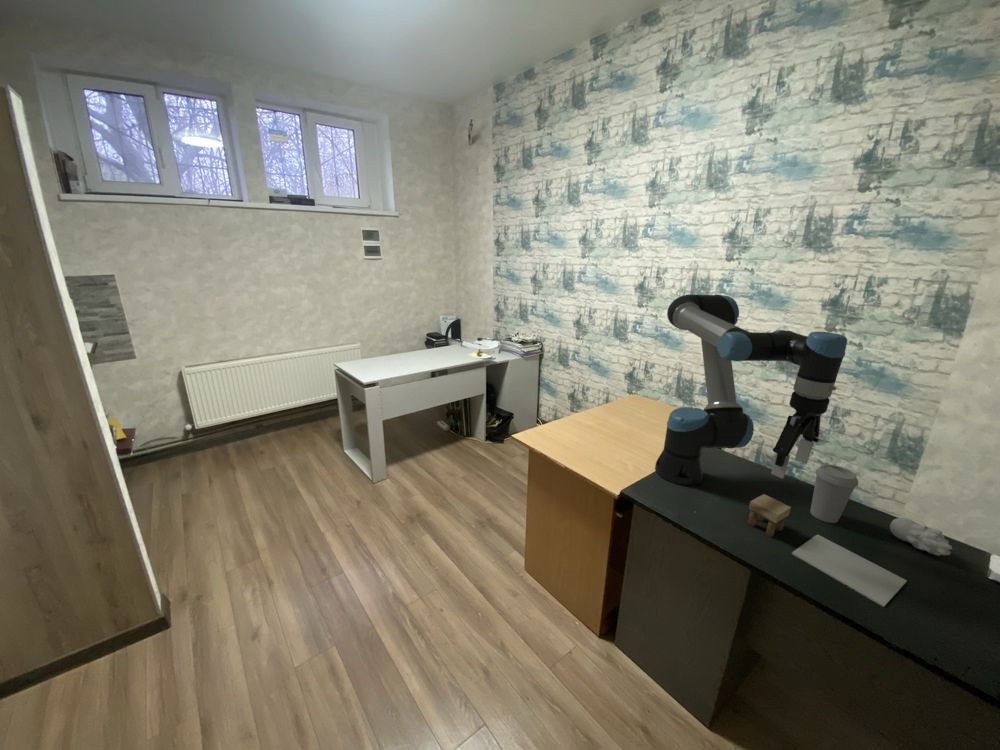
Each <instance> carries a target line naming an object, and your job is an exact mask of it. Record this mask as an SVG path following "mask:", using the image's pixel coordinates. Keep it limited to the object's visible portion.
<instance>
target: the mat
mask: <svg viewBox="0 0 1000 750" xmlns="http://www.w3.org/2000/svg"><path fill="white" fill-rule="evenodd" d="M791 555H793V556H795V557H796V558H798V559H800V560H802V561H803V562H805V563H807V564H808V565H810V566H812V567H814V568H815V569H818V570H819V571H821V572H822V573H824V574H826V575H827V576H829V577H831V578H833V579H834V580H836V581H837V582H839V583H841V584H843V585H845V586H846V585H847V586H846V587H848V588H850V589H851V590H853V589H854V590H853V591H855V592H856V593H859V594H860V595H862V596H864V597H865V596H866V597H865V598H867V599H869V600H871V601H873V602H874V603H876V604H878V605H880V606H881V607H883V608H884V607H885V606H887V605H888V604H889V602H890V601H891V600H892V599H893V597H894V596H895V595H896V594H897V593H898V592H899V591H900V590H901V589H902V588H903V587H904V586H905V584H906V583H907V581H908V580H906V579H905V578H903V577H901V576H900V575H897V574H895V573H893V572H891V571H889V570H888V569H885V568H883V567H882V566H880V565H878V564H876V563H874V562H872V561H870V560H868V559H866V558H864V557H862V556H860V555H858V554H857V553H854V552H852V551H851V550H848V549H847V548H845V547H843V546H841V545H839V544H837V543H835V542H833V541H831V540H829V539H828V538H825V537H823V536H822V535H819V534H816V535H814V536H813V537H812V538H810V539H809V540H807V541H806V542H805V543H804V544H802V545H800V546H799V547H798V548H796V549H794V550H793V551H792V552H791Z"/></svg>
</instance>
